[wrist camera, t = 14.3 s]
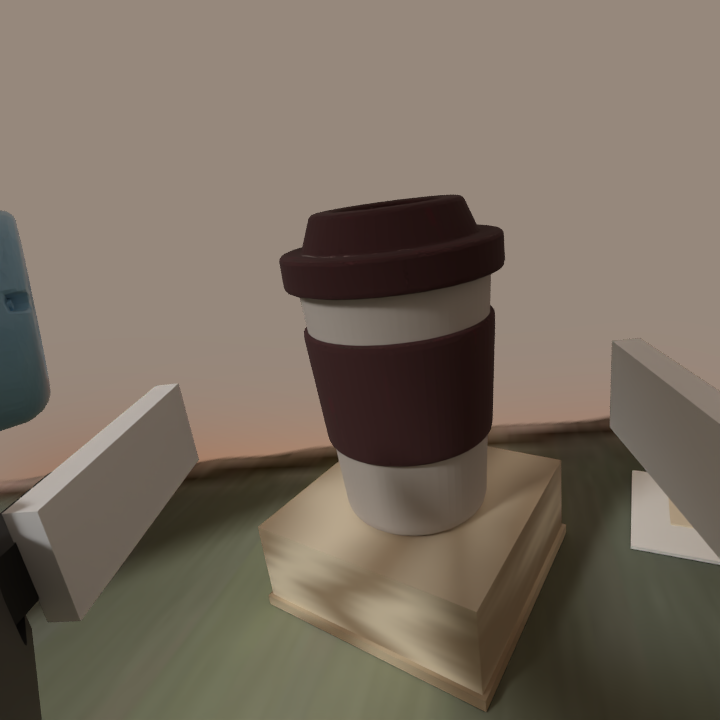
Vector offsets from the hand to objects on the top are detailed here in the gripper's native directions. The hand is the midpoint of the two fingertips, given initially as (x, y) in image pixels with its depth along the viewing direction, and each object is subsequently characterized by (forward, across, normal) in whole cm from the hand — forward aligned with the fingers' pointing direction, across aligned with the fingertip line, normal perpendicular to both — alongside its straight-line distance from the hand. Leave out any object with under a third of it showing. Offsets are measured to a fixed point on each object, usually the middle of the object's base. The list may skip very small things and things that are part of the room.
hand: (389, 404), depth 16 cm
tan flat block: (+10, 0, -14) cm, 17 cm away
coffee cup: (+9, 0, -10) cm, 13 cm away
